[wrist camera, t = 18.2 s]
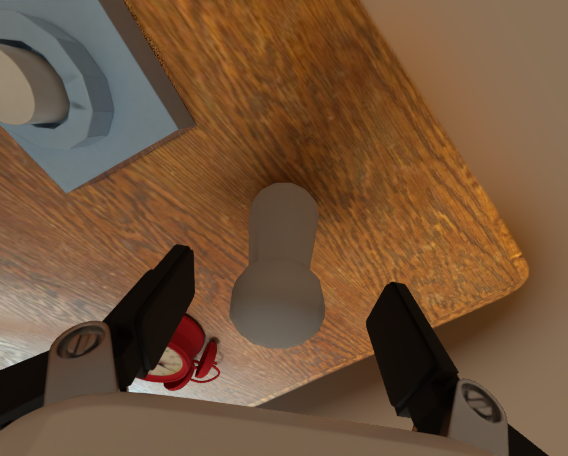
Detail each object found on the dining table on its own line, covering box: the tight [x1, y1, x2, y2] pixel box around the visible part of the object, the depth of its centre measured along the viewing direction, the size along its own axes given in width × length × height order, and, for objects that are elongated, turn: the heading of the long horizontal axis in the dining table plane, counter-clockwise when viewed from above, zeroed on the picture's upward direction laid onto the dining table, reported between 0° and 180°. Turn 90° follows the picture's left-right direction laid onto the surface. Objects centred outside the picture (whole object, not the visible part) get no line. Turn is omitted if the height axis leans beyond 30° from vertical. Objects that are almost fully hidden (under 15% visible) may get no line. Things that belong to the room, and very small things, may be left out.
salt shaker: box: [229, 183, 325, 349], centre depth 15 cm, size 6×6×13 cm
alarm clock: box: [139, 315, 220, 391], centre depth 28 cm, size 10×6×15 cm
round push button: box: [0, 43, 70, 125], centre depth 12 cm, size 4×4×2 cm
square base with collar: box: [0, 0, 196, 193], centre depth 14 cm, size 11×10×5 cm
